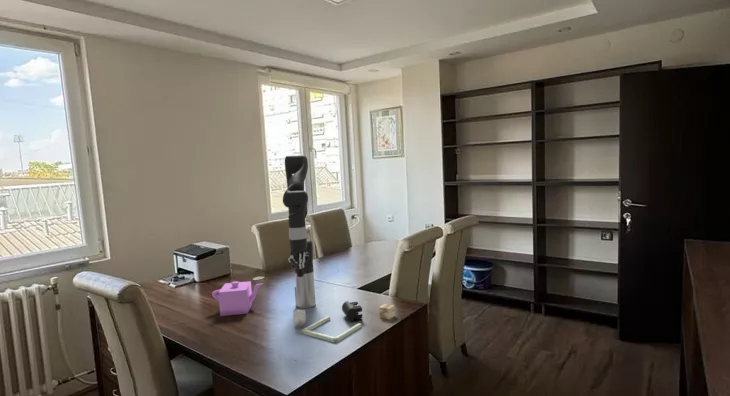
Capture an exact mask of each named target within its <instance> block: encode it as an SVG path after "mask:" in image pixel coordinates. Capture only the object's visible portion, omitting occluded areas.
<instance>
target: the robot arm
mask: <svg viewBox="0 0 730 396" xmlns="http://www.w3.org/2000/svg"><path fill="white" fill-rule="evenodd" d="M284 168H285V169H284V170H285V177H286V187H287V188H286V190H285V191H284V193H283V196H282V203H283V205H284V207H285V208H288V217H287V218H288V239H289V240H288V242H289V249H290V256H289V257H287V258H286V261H287V262H288V263H289V265H290V266H291V268H293V269H294V275H295V276H294V278H295V279H294V280H295V286H294V301H295V306H297V308H298V309H310V308H312V307H315V306H316V290H315V289H316V288H315V285H316V284H315V272H314V270H315V269H314V246H313V241H312V240H311V239H308V237H307V236H308V235H307V227H306V226H307V225H306V218H307V215H308V202H309V201H308V200H309V195H308V193H307V192H306V191H305V181H306V177H307V173H308V170H309V160H308V158H307V156H306V155H304V154H293V155H292V154H289V155H286V156H285V157H284Z"/></svg>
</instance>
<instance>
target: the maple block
mask: <svg viewBox="0 0 730 396" xmlns="http://www.w3.org/2000/svg"><path fill="white" fill-rule="evenodd" d="M378 312H379V314H378V315H379V318H380V319H383V320H391V319H392V318H394V317H395V314H396V313H395V304H389V303H384V304H382V305H381V306H379V307H378Z"/></svg>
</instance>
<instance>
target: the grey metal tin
mask: <svg viewBox="0 0 730 396" xmlns="http://www.w3.org/2000/svg"><path fill="white" fill-rule="evenodd" d="M306 321H307V320H306V308H297V309H294V310H293V322H294V324H293V326H294V329H299V330H300V329H301V330H302V329H304V328H306V327H307V322H306Z"/></svg>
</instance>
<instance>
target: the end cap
mask: <svg viewBox="0 0 730 396" xmlns="http://www.w3.org/2000/svg"><path fill="white" fill-rule="evenodd" d="M341 310H342V313H343V314H344V315H345V317H346V318H347V319H348V321H350V322H351V323H356V322H357V323H359V322H363V314H362V312H363V306H361V305H360V304H359V302H358V301H352V302H351V301H350V302H349V300H346V301H344V302H343V303H342V306H341ZM360 312H361V313H360Z"/></svg>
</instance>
